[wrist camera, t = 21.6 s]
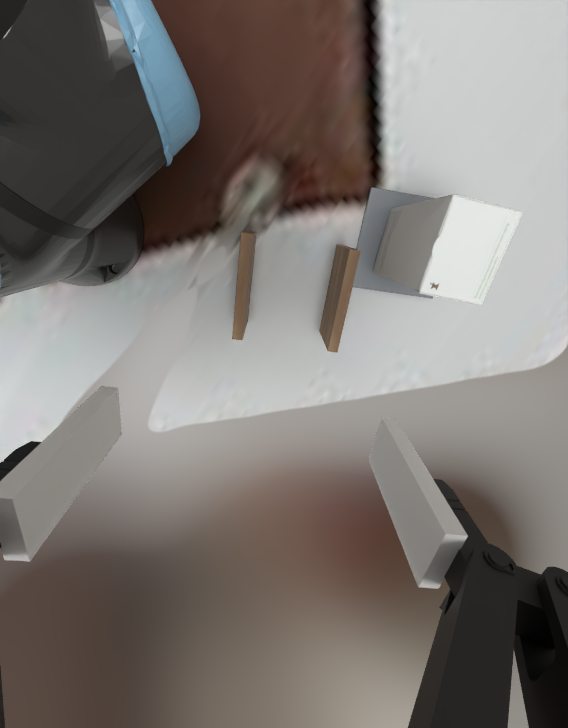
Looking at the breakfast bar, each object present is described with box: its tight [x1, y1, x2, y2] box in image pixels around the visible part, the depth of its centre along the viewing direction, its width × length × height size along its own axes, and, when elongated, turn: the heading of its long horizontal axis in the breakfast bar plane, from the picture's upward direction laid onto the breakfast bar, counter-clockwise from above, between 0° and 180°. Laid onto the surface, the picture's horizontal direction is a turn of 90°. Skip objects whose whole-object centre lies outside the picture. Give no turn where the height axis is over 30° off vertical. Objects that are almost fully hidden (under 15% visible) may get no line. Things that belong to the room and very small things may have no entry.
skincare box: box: [373, 194, 522, 305], centre depth 34 cm, size 8×7×16 cm
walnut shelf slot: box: [232, 231, 361, 352], centre depth 40 cm, size 13×12×8 cm
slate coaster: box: [353, 187, 435, 298], centre depth 41 cm, size 12×12×1 cm
